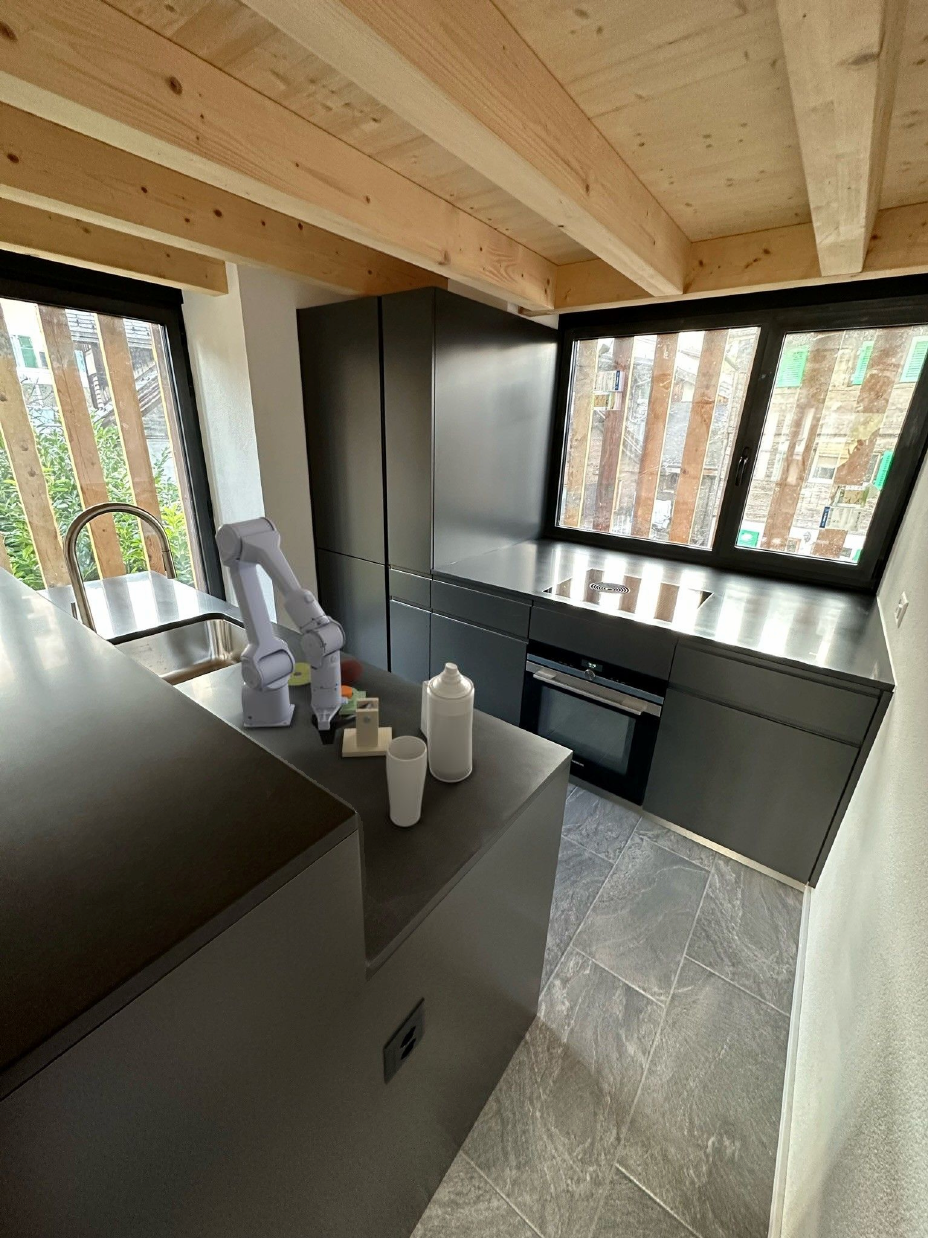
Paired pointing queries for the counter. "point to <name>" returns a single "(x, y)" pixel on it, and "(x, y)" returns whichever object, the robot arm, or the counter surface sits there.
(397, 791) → the drinking glass
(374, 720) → the bracket
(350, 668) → the potato
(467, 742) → the spray can
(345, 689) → the button
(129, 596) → the counter surface
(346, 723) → the lever
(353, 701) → the control block
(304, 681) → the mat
